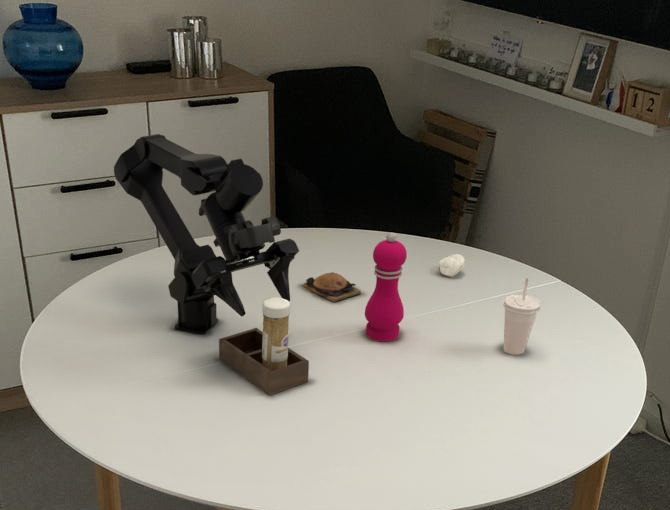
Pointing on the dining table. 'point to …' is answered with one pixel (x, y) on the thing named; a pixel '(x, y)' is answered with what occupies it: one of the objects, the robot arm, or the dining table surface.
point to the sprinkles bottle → (275, 333)
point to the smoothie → (519, 320)
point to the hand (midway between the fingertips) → (266, 308)
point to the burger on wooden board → (331, 286)
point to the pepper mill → (386, 291)
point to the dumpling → (451, 265)
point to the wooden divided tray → (261, 362)
